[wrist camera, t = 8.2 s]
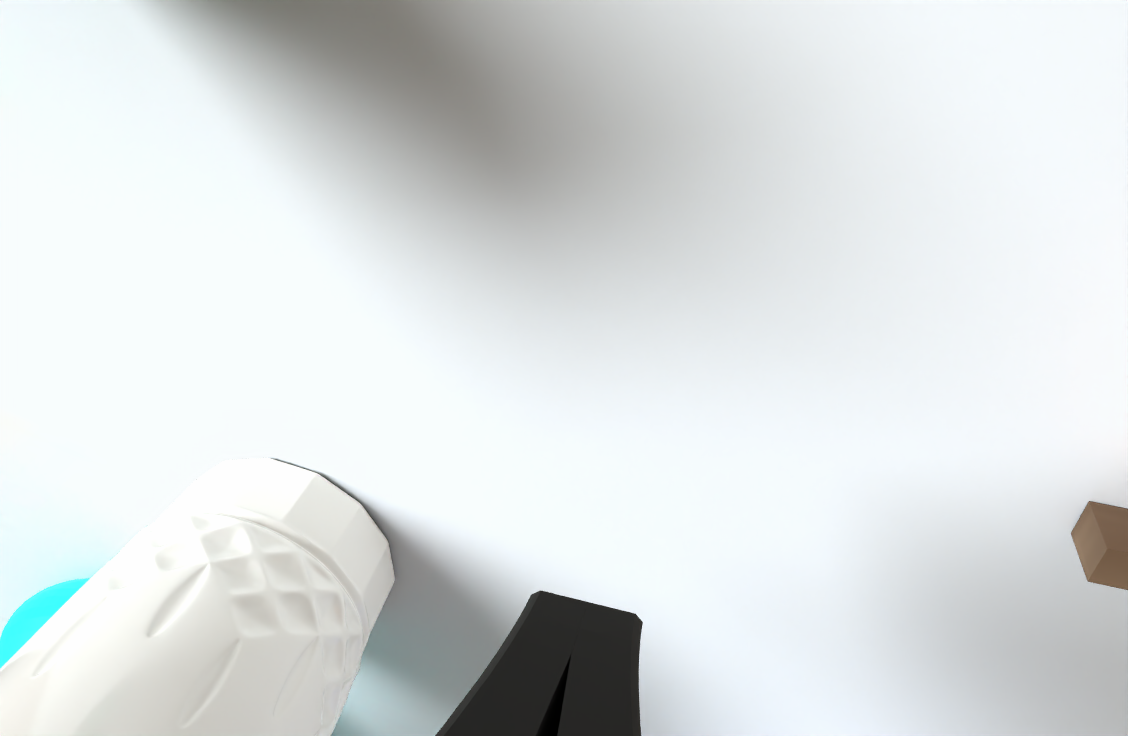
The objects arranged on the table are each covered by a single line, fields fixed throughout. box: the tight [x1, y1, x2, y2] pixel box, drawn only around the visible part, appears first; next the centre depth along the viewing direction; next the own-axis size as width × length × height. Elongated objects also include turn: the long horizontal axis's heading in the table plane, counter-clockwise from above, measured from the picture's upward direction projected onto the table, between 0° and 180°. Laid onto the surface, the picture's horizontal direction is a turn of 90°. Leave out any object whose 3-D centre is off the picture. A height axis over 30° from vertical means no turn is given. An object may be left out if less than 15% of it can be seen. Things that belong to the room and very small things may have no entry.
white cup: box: [0, 458, 395, 736], centre depth 23 cm, size 8×8×10 cm
